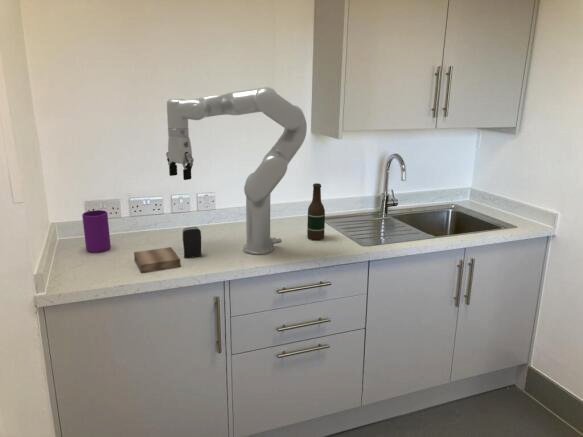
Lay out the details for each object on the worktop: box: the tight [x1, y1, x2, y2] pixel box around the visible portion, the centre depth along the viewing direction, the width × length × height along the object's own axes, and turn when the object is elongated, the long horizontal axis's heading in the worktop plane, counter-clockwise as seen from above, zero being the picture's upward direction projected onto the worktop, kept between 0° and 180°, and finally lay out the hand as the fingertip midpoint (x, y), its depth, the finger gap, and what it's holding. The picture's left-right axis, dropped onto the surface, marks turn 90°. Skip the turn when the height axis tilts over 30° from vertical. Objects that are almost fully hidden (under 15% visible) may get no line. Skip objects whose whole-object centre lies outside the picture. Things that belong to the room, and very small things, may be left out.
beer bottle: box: [306, 182, 326, 242], centre depth 210 cm, size 8×8×24 cm
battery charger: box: [181, 226, 203, 259], centre depth 189 cm, size 7×4×11 cm, turn 109°
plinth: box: [133, 246, 181, 274], centre depth 183 cm, size 14×14×3 cm
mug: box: [81, 209, 111, 253], centre depth 198 cm, size 9×16×15 cm, turn 26°
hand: (180, 177), depth 190 cm, fingers open, 9 cm apart
